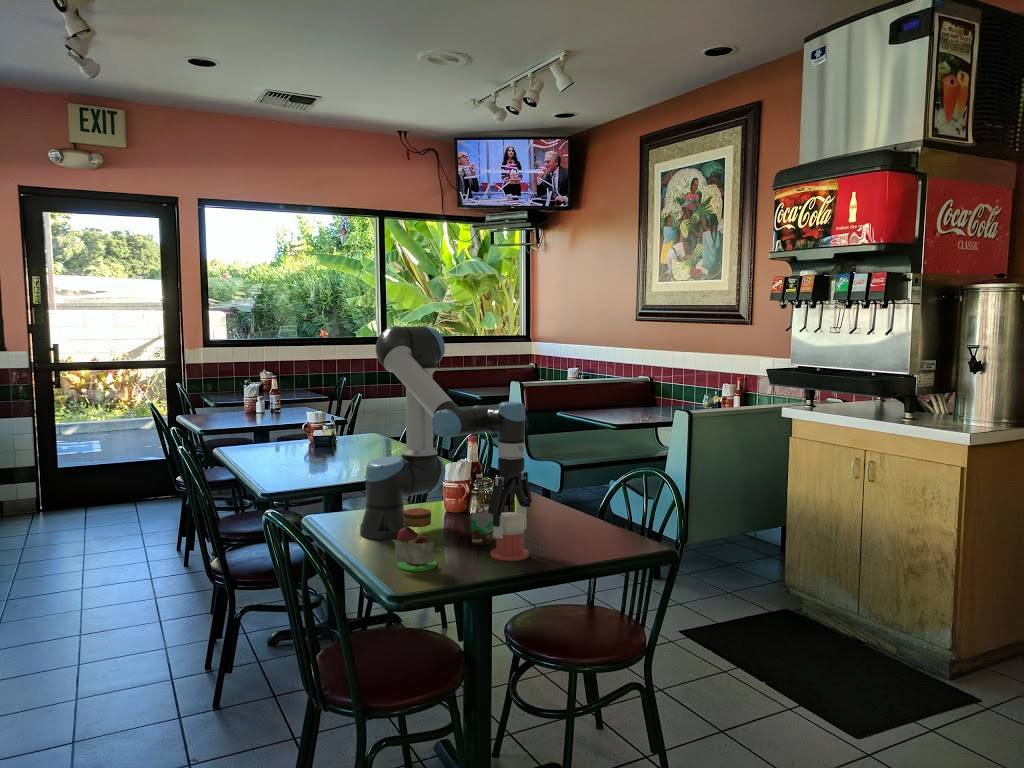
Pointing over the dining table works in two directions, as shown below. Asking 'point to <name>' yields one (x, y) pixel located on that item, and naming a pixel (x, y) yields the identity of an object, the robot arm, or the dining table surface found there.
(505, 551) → the red flanged cylinder
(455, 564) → the dining table surface
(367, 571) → the dining table surface
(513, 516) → the grey rounded piece
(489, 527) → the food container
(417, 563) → the translucent plastic tub
